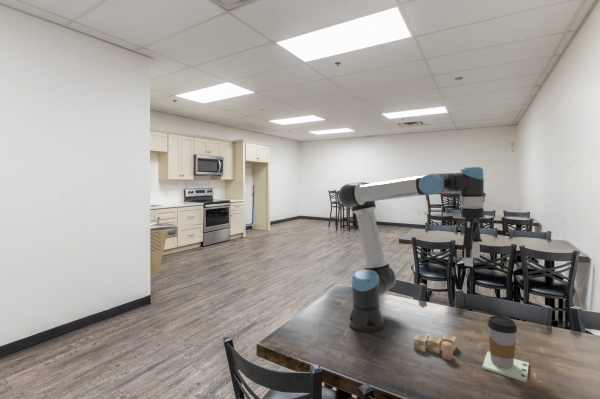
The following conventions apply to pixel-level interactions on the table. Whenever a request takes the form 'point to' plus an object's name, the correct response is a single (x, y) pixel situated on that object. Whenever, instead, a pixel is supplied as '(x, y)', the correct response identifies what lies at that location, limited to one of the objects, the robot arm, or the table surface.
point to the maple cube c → (450, 340)
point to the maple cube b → (434, 344)
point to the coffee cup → (502, 341)
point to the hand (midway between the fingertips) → (472, 261)
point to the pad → (516, 371)
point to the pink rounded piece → (447, 350)
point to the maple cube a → (420, 343)
